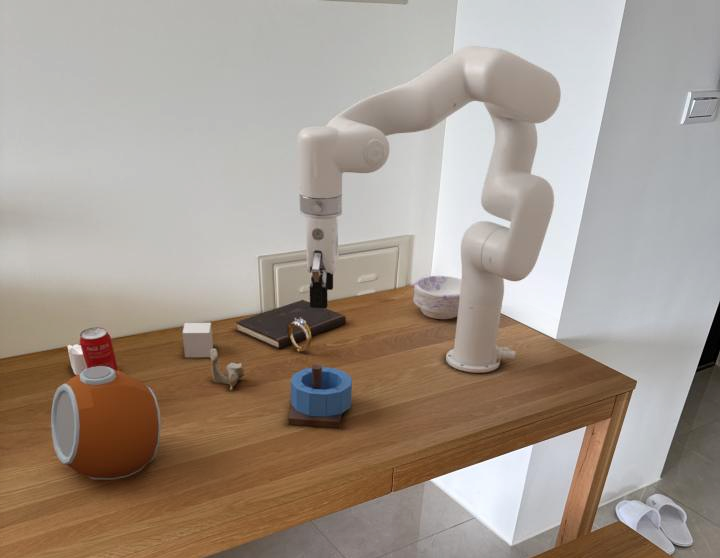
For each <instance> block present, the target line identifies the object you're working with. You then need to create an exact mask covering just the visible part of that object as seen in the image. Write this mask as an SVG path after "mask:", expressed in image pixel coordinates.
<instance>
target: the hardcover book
mask: <svg viewBox="0 0 720 558" xmlns="http://www.w3.org/2000/svg"><path fill="white" fill-rule="evenodd" d="M294 318H296V319H297V320H298V319H299V320H300V318H301V320H302V319H303V320H305V321H306V324H307V325H308V327H309V329H310V332H311V337H314V336H316V335H319V334H321V333H324V332H327V331H329V330H332V329H334V328H337V327H340V326H342V325H344V324H346V323H347V322H346V321H347V317H346V316H345V315H344V314H342V313H340V312H336V311H333V310H331V309H329V308H311V307H310V301H307V300H304V299H300V300H298V301H294V302H291V303H288V304H286V305H283V306H279V307H276V308H273V309H270V310H267V311H264V312H261V313H258V314H255V315H252V316H249V317H246V318H243V319H240V320H237V321H235V324H236V325H237V326H236V327H237V328H236V329H235V331H237V332H240V333H241V334H243V335H245V336H248V337H250V338H252V339H254V340H257V341H260V342H261V343H263V344H265V345H268V346H269V347H272V348H275V349H276V350H279V349H282V348H284V347H287V346H290V345H292V344H291V342H290V340H289V337H288V333H287V327H288V325H289V324H291V323H292V322H294V321H295V319H294ZM292 334H293V338H294V341H295V343H297V342H301V341H302V340H306V337H305V333H304V331H303V330H302V329H301V328H300V327H298V326H296V325H295V326H294V327H293V330H292Z"/></svg>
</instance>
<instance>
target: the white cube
mask: <svg viewBox="0 0 720 558" xmlns="http://www.w3.org/2000/svg"><path fill="white" fill-rule="evenodd" d="M181 334H182V342H183V351H184V358H210V351H211V350H212V349H213V348H214V342H213V341H214V340H213V330H212V322H184V324H183V328H182V333H181Z"/></svg>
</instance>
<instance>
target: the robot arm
mask: <svg viewBox="0 0 720 558" xmlns="http://www.w3.org/2000/svg"><path fill="white" fill-rule="evenodd" d="M561 95H562V94H561V85H560V83H559V81H558V79H557V78H556V76H555V75H553V74H552V72H550V71H548V70H546V69H544V68H542V67H541V66H538V65H536V64H534V63H532V62H530V61H528V60H526V59H524V58H523V57H520V56H519V55H516V54H515V53H513V52H510V51H508V50H506V49H502V48H496V47H489V46H488V47H487V46H480V45H479V46H478V45H469V46H465V47H461V48H459V49H457V50H455V51H453V52H452V53H451V54H449V55H448V56H447V57H445V58H443V59H441V60H440V61H439V62H438V63H436V64H434V65H433V66H431V67H430V68H428V69H427V70H425V71H424V72H422V73H421V74H419V75H418V76H416V77H415V78H413V79H411V80H409V81H408V82H405V83H402V84H400V85H397V86H394V87H391V88H389V89H386V90H384V91H381V92H379V93H375V94H373V95H370V96H368V97H365V98H363V99H361V100H359V101H358V102H356V103H354V104H352V105H350V106H349V107H347V108H346V109H344V110H343V111H341V112H340V113H338V114H337V115H335V116H334V117H333V118H332V119H331V120H330V121H329V122H328V123H327V124H326V125H325V126H324V125H323V126H322V125H314V126H306V127H304V128H302V129H301V130H300V131H299V132H298V136H297V154H298V155H297V156H298V157H297V158H298V190H299V191H298V193H299V214H300V215H301V216H302V217H305V239H306V241H305V242H306V243H305V245H306V266H307V271H308V272H309V274H310V279H309V280H310V281H309V302H310V307H311V308H326V309H328V291H332V290H333V289H334V273H335V272H336V269H337V267H338V263H339V229H338V228H339V227H338V226H339V225H338V224H339V223H338V217H340V216H341V215H343V174H344V173H355V174H371V173H375V172H376V171H379V169H381V168H383V166H384V165H385V164H386V163H387V162H388V159H389V155H390V143H389V140H388V136H391V135H395V134H396V135H397V134H409V133H417V132H422V131H426V130H430V129H432V128H434V127H436V126H437V125H438V124H441V122H443V121H445V120H446V119H447V118H448V117H450V116H451V115H453V114H454V113H456V112H457V111H459V110H461V109H462V108H464V107H465V106H466V105H468V104H469V103H472V102H478V103H479V102H480V103H482V104H483V105H484V107H485V109H486V111H487V112H488V114H489V116H490V119H491V121H492V124H493V129H494V130H493V131H494V144H493V148H492V152H491V157H490V160H489V164H488V168H487V171H486V176H485V179H484V183H483V186H482V190H481V196H480V204H481V207H482V208H483V210H484V211H485V212H486V213H488V214H489V215H491V216H493V217H495V218H496V217H497V218H499V219H502V220H505V221H508V222H510V224H509V227H507V226H504V225H501V224H499V223H496V222H493V221H488V220H486V221H484V220H482V221H481V220H480V221H477V222H475V223H473V224H471V225H469V227H467V229H466V230H465V231H464V233H463V234H462V235H463V236H462V238H461V242H460V261H461V280H462V281H461V291H460V299H459V308H458V316H457V317H456V326H455V333H454V334H455V335H454V345H453V348H452V349H450V350H449V351H447V352H446V355H445V361H446V363H447V364H448V365H449V366H450V367H451V368H454V369H456V370H458V371H462V372H465V373H466V372H467V373H473V374H474V373H475V374H480V373H481V374H483V373H489V372H492V371H495V370H496V369H498V368H499V367H500V366H501V359H506V360H516V350H510V347H508V346H504V347H503V346H500V345H498V342H497V341H498V333H499V327H500V320H501V313H502V307H503V301H504V295H505V283H504V280H507V281H509V282H519V281H522V280H524V279H526V278H527V277H528V276H529V275H530V274H531V273H532V271H533V269H534V268H535V266H536V263H537V262H538V258H539V256H540V253H541V250H542V246H543V244H544V240H545V237H546V234H547V231H548V228H549V225H550V222H551V218H552V216H553V215H552V214H553V212H554V206H555V194H554V189H553V187H552V185H551V183H550V182H549V181H548V180H546V179H545V178H543V177H541V176H539V175H536V174H533V173H532V168H533V164H534V162H535V157H536V152H537V148H538V132H537V127H536V124H541V123H544V122H546V121H548V120H549V119H551V117H553V116H554V115H555V113H556V112H557V110H558V107H559V106H560V102H561V97H562V96H561Z"/></svg>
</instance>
